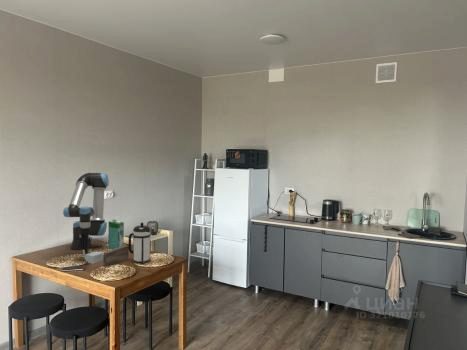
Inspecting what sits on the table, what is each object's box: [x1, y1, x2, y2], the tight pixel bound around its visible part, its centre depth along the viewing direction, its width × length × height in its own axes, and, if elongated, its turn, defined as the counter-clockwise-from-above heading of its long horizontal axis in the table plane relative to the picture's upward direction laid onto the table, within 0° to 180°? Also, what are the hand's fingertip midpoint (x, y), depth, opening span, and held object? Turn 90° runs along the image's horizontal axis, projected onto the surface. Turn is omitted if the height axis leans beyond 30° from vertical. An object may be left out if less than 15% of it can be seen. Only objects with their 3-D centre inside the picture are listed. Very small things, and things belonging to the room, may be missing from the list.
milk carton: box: [107, 219, 125, 249], centre depth 295 cm, size 9×9×25 cm
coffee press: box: [128, 222, 152, 264], centre depth 265 cm, size 17×16×30 cm
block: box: [84, 251, 103, 265], centre depth 264 cm, size 8×10×6 cm
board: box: [102, 245, 129, 267], centre depth 262 cm, size 4×22×10 cm, turn 156°
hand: (85, 257), depth 267 cm, fingers closed
